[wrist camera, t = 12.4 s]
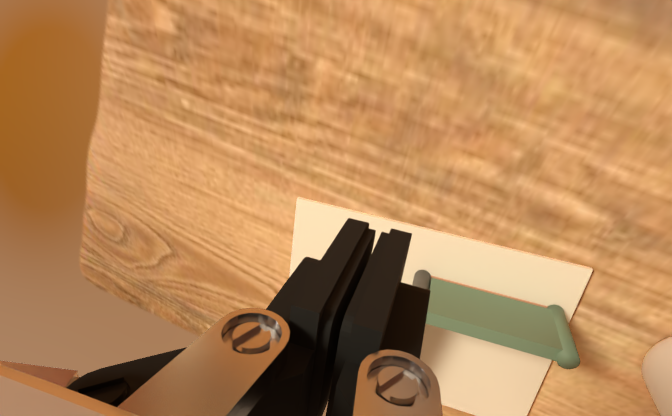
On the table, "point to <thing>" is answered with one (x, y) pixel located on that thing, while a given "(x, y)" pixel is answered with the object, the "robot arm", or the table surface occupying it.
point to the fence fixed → (500, 320)
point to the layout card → (470, 271)
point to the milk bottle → (659, 375)
